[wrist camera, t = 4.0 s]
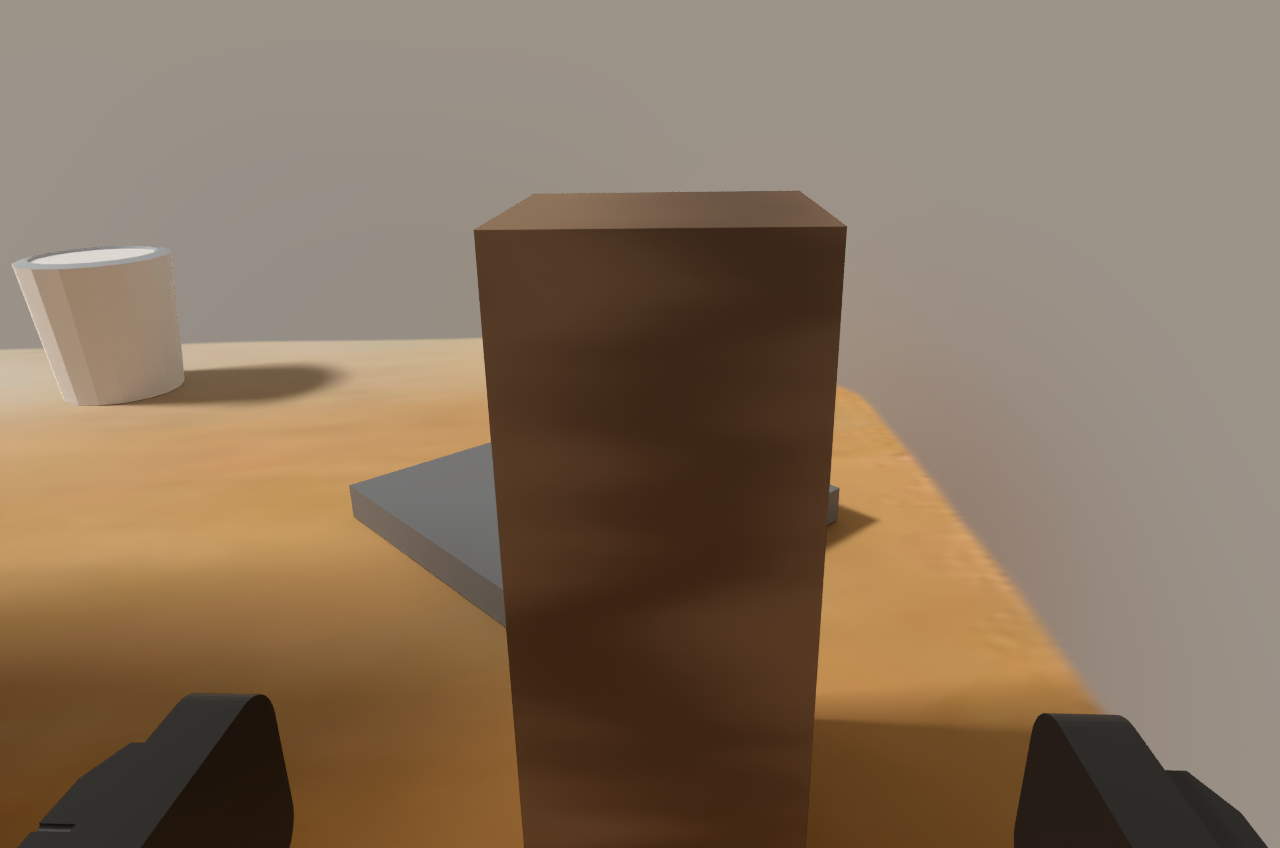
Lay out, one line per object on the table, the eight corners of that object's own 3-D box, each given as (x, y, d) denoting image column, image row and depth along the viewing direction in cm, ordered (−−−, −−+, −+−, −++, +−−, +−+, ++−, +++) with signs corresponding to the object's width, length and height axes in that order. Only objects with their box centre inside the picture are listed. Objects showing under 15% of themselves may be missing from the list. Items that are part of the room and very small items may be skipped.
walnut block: (527, 892, 16) (473, 229, 12) (563, 712, 21) (533, 193, 16) (801, 899, 16) (846, 226, 11) (774, 716, 20) (799, 190, 16)
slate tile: (353, 516, 30) (349, 485, 30) (611, 431, 38) (610, 405, 38) (559, 666, 22) (556, 626, 22) (837, 519, 30) (839, 488, 29)
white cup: (78, 419, 41) (40, 272, 38) (27, 392, 45) (-11, 257, 42) (221, 383, 46) (195, 251, 43) (163, 362, 50) (136, 240, 47)
